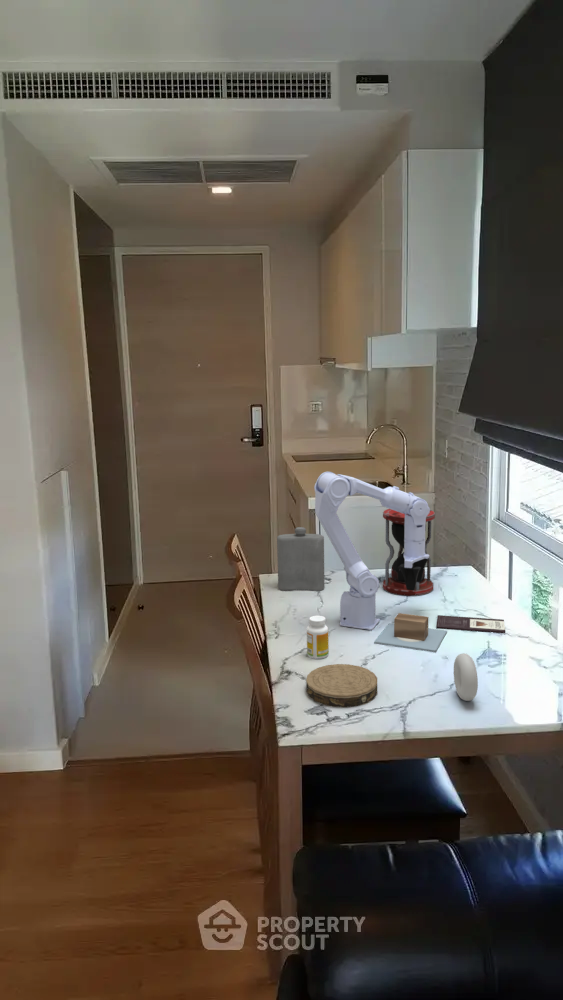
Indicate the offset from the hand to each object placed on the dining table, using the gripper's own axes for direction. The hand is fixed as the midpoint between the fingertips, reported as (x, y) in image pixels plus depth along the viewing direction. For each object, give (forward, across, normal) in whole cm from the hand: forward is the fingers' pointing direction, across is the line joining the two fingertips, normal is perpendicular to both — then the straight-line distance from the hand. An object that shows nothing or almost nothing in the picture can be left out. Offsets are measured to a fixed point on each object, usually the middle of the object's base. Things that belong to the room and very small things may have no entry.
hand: (414, 585), depth 200 cm
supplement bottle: (+10, -34, +16) cm, 39 cm away
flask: (+10, +13, +40) cm, 43 cm away
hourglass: (+10, +25, +8) cm, 28 cm away
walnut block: (+9, -15, -3) cm, 18 cm away
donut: (+10, -44, -22) cm, 50 cm away
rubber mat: (+9, -15, -3) cm, 18 cm away
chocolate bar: (+10, 0, -16) cm, 19 cm away
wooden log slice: (+10, -50, +4) cm, 51 cm away
